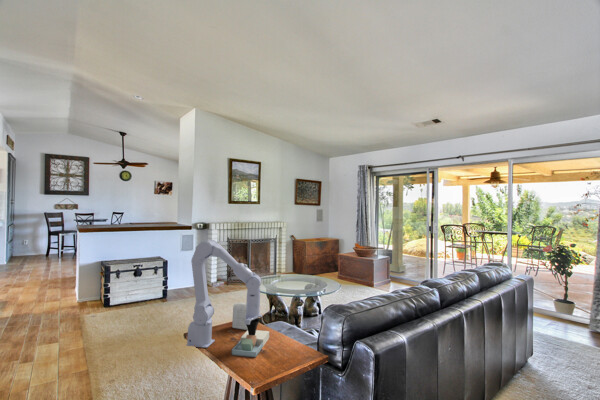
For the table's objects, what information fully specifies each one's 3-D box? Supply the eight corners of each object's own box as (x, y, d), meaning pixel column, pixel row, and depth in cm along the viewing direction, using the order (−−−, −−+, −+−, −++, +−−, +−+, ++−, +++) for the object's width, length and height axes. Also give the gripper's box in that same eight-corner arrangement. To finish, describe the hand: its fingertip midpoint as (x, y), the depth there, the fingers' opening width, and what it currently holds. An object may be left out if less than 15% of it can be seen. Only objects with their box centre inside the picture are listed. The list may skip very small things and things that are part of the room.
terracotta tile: (244, 346, 131) (244, 342, 130) (247, 339, 134) (247, 334, 133) (254, 347, 130) (253, 343, 129) (256, 339, 134) (256, 335, 133)
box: (231, 354, 125) (231, 349, 125) (240, 344, 135) (240, 340, 135) (255, 357, 123) (255, 352, 123) (262, 347, 133) (263, 342, 133)
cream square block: (240, 344, 135) (240, 337, 135) (248, 335, 145) (248, 329, 145) (263, 346, 133) (263, 339, 134) (269, 337, 143) (269, 331, 143)
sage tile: (244, 345, 130) (242, 350, 128) (242, 338, 129) (240, 343, 126) (253, 346, 130) (251, 351, 127) (252, 339, 128) (250, 344, 126)
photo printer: (253, 328, 155) (254, 302, 156) (250, 331, 151) (251, 304, 152) (234, 325, 158) (235, 300, 159) (230, 328, 154) (231, 302, 155)
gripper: (257, 309, 127) (255, 343, 126) (266, 300, 141) (265, 331, 141) (240, 308, 128) (239, 342, 127) (251, 299, 143) (250, 329, 142)
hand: (251, 336), depth 134 cm, fingers closed
